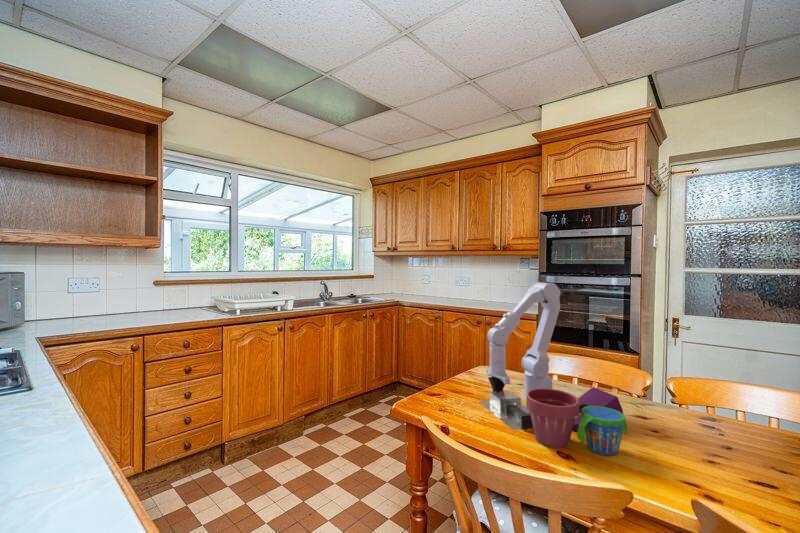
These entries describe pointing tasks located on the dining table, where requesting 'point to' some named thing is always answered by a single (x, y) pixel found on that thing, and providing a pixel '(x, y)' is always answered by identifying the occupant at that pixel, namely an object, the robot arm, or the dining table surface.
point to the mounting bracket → (597, 402)
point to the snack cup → (602, 429)
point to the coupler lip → (512, 415)
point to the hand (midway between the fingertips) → (497, 397)
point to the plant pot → (552, 415)
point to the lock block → (504, 399)
